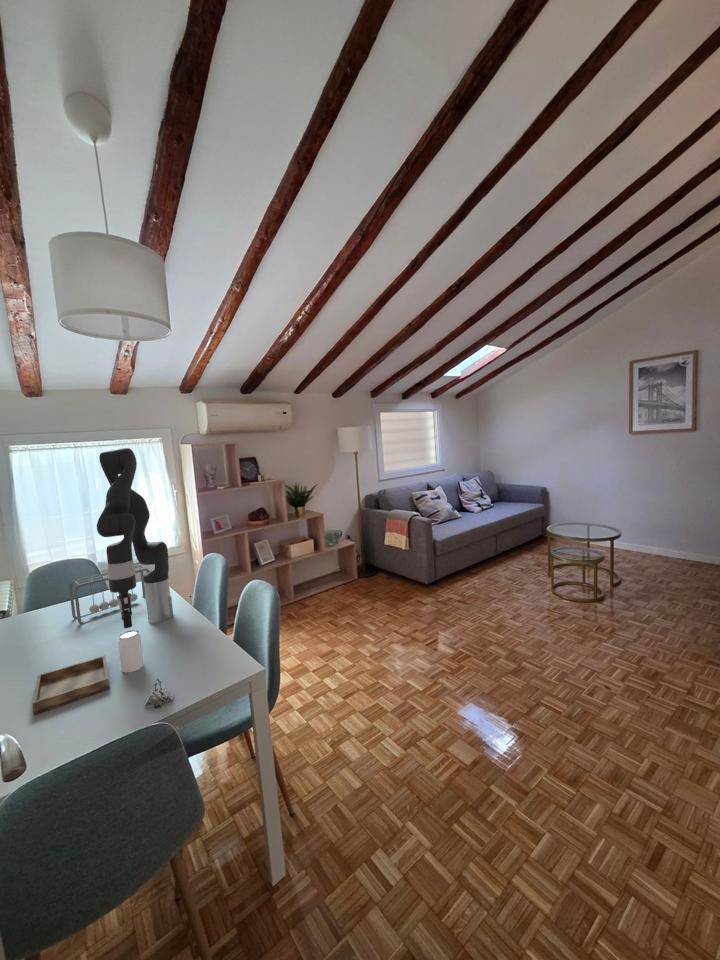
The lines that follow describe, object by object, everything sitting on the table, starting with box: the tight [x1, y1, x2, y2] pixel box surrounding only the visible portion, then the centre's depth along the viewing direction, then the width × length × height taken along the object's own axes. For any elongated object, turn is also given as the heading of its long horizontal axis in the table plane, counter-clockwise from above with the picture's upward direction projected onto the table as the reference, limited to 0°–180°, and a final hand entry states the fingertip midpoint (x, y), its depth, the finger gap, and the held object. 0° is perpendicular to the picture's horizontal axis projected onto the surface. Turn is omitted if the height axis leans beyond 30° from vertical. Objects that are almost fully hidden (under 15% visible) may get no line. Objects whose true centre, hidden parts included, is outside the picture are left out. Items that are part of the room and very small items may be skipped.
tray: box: [31, 655, 111, 716], centre depth 123 cm, size 18×18×4 cm
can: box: [117, 629, 144, 674], centre depth 132 cm, size 6×6×12 cm
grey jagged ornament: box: [144, 677, 175, 709], centre depth 111 cm, size 9×9×8 cm
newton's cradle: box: [68, 564, 151, 625], centre depth 183 cm, size 30×10×18 cm, turn 137°
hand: (126, 623), depth 131 cm, fingers open, 8 cm apart
